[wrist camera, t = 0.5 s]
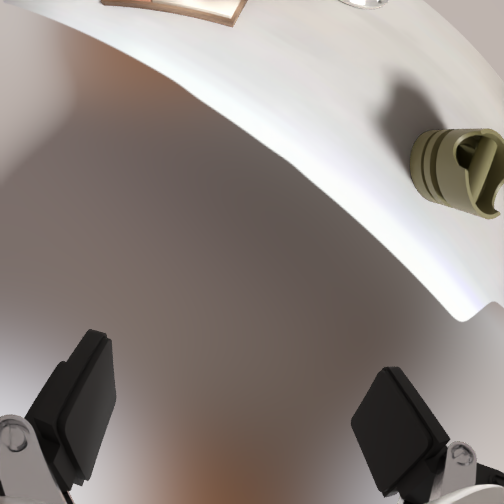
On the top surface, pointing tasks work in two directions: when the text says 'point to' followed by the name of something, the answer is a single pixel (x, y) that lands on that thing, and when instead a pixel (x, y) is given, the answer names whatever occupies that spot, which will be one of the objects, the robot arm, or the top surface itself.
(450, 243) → the top surface
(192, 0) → the board
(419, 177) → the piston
